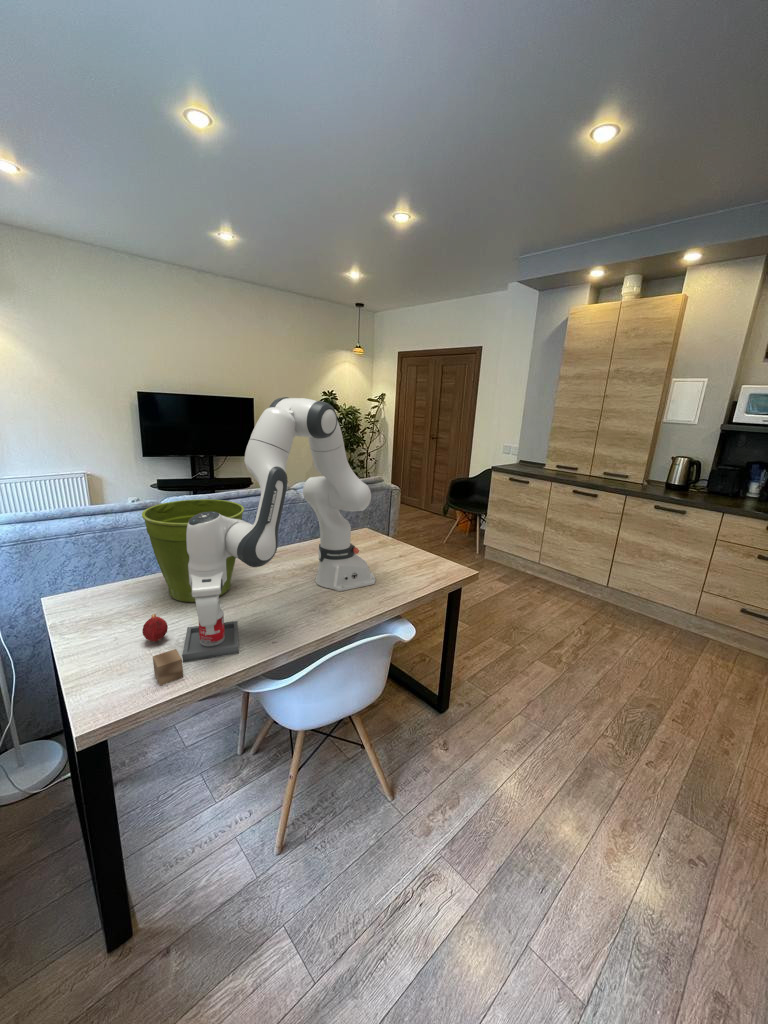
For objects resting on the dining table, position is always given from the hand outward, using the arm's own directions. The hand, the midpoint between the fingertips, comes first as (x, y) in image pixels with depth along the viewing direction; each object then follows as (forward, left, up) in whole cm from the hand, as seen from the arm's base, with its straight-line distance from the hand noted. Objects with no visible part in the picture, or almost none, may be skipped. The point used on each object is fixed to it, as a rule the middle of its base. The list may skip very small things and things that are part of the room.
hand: (211, 623), depth 104 cm
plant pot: (+5, -34, -6) cm, 35 cm away
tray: (0, 0, -6) cm, 6 cm away
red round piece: (+14, -5, -6) cm, 16 cm away
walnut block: (+9, +11, -6) cm, 16 cm away
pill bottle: (0, 0, -6) cm, 6 cm away
